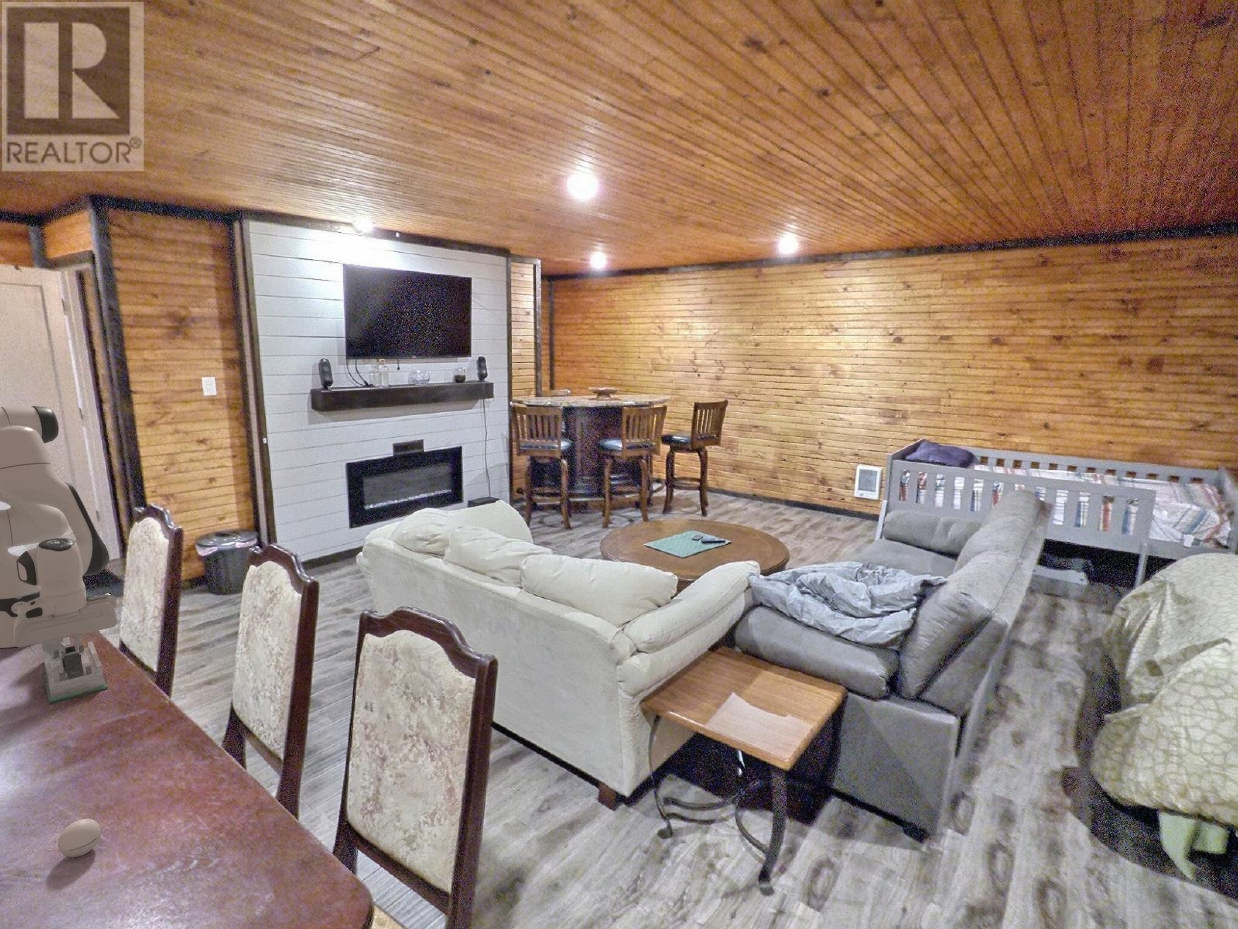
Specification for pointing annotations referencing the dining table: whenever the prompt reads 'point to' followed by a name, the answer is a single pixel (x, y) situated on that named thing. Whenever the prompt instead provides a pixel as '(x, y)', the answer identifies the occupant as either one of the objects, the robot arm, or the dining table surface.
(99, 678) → the fuse holder
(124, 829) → the dining table surface
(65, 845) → the beige oval egg shape
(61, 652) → the strap
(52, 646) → the skincare box
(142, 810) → the dining table surface
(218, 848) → the dining table surface
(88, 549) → the robot arm
